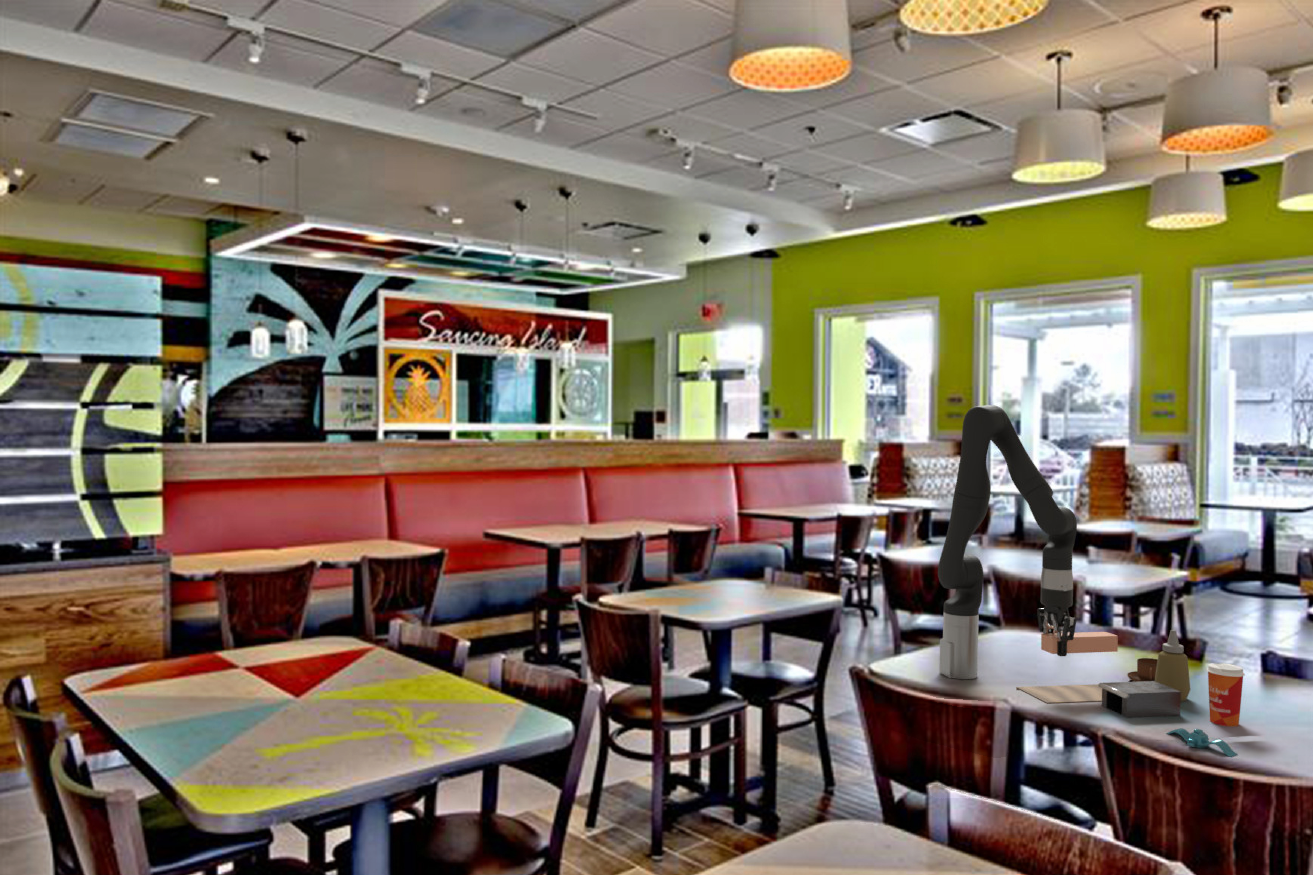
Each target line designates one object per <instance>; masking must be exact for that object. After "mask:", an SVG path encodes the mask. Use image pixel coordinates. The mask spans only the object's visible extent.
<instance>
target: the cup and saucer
mask: <svg viewBox="0 0 1313 875" xmlns="http://www.w3.org/2000/svg"><path fill="white" fill-rule="evenodd" d="M1157 661H1158V658H1149V657H1141V658H1137V660H1136V668H1137V669H1136V670H1135V671H1130V672H1127V678H1128V679H1129V680H1131V682H1142V681H1155V675H1156V668H1157Z"/></svg>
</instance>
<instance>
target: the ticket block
mask: <svg viewBox="0 0 1313 875" xmlns="http://www.w3.org/2000/svg"><path fill="white" fill-rule="evenodd" d="M1062 633H1063V632H1061V636H1062ZM1069 634H1070V632H1068V635H1069ZM1040 637H1041V639H1040V643H1041V644H1040V649H1041V650H1042V651H1044V652H1047V653H1049V654H1050V655H1051V654H1052V655H1057V641H1058V639H1057V633H1056V632H1055V633H1050V634H1043V633H1041V636H1040ZM1118 638H1119V636H1118V635H1116V634H1113V633H1111V632H1107V631H1089V632H1088V631H1084V632H1082V631H1081V632H1074V638H1073V640H1069V641H1068V642H1067V654H1087V653H1089V654H1090V653H1091V654H1092V653H1112V652H1113V653H1114V652H1118V650H1119V648H1118V647H1119V646H1118V645H1119V642H1118V640H1119V639H1118Z"/></svg>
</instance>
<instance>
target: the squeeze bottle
mask: <svg viewBox="0 0 1313 875" xmlns="http://www.w3.org/2000/svg"><path fill="white" fill-rule="evenodd" d="M1184 648H1185V647H1184V645H1182V644H1180V642H1179V639H1178V634H1177V630H1175V629H1171V630H1170V632H1169V636H1168V639H1167V642H1165V643H1162V651H1160V652H1159V653H1157V654H1158V656H1157V659H1158V661H1157V668H1156V675H1155V682H1157V683H1160V684H1162V685H1165V686H1167V687H1170V688H1173V689H1175V690H1178V691H1180V692H1181V700H1180V702H1185V701H1187V699H1188V697H1189V694H1190V692H1191V683H1190V682H1191V681H1190V680H1191V679H1190V672H1189V671H1190V670H1189V659H1188V656H1187V655H1186V654H1185V653H1184Z"/></svg>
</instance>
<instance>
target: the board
mask: <svg viewBox="0 0 1313 875" xmlns="http://www.w3.org/2000/svg"><path fill="white" fill-rule="evenodd" d="M1098 684H1099V683H1095V684H1073V685H1072V684H1068V685H1064V684H1063V685H1041V686H1040V685H1037V686H1034V685H1033V686H1016V687H1015V688H1016V691H1022V692H1024V693H1025V694H1028V695H1029V696H1031V697H1033V698H1035V699H1037V700H1039V701H1041V702H1042V703H1044V704H1072V703H1073V704H1074V703H1077V704H1079V703H1102V688H1100V687H1099V686H1098Z"/></svg>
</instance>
